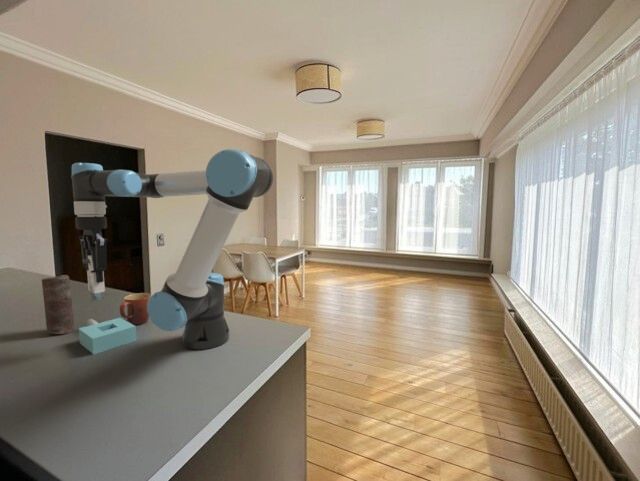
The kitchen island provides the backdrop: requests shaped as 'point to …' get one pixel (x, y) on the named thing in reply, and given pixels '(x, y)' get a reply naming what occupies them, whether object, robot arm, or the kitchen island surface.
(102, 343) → the chuck block
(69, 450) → the kitchen island surface
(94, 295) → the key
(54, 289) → the brown mottled cylinder
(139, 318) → the mug
